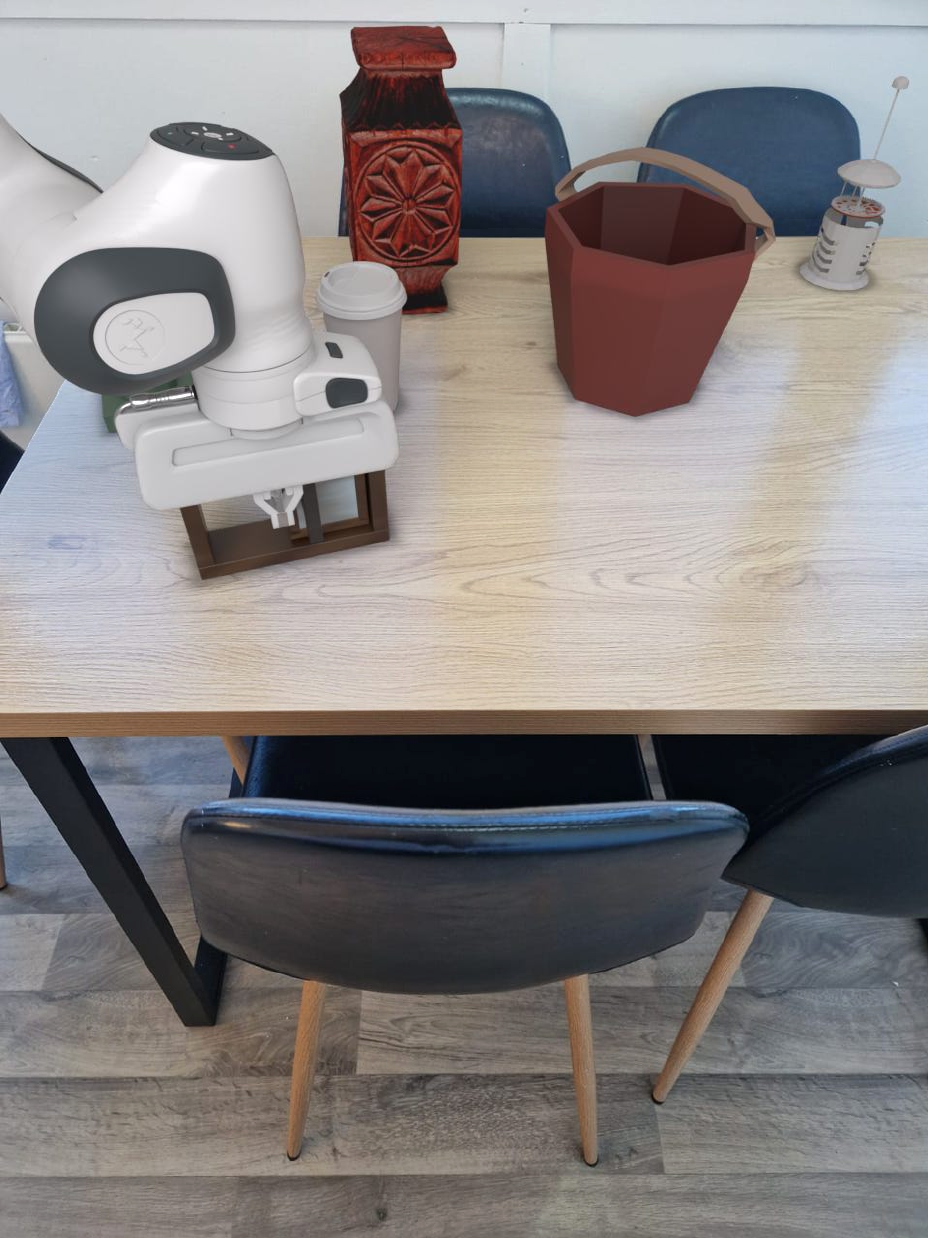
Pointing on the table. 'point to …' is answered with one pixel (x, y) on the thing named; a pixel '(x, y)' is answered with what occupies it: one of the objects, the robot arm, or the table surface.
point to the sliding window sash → (330, 507)
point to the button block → (115, 402)
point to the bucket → (647, 279)
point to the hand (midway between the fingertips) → (283, 522)
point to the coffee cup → (367, 314)
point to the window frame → (279, 537)
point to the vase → (403, 159)
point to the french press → (852, 223)
